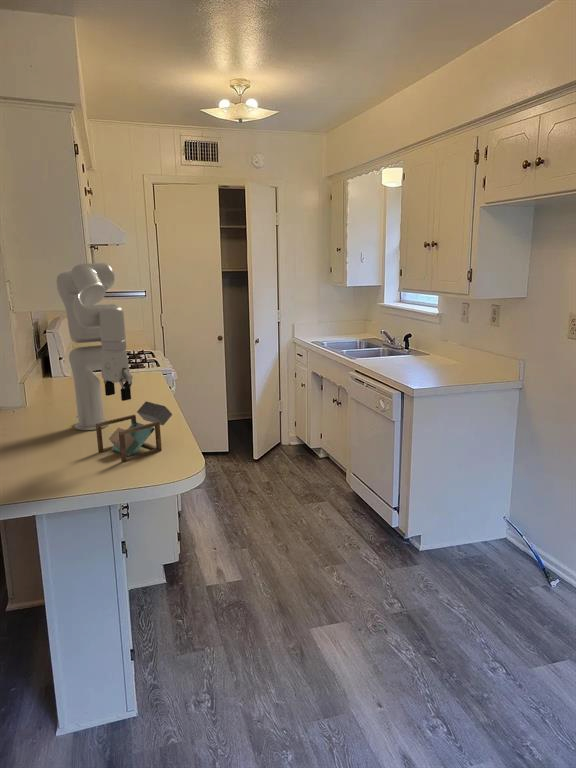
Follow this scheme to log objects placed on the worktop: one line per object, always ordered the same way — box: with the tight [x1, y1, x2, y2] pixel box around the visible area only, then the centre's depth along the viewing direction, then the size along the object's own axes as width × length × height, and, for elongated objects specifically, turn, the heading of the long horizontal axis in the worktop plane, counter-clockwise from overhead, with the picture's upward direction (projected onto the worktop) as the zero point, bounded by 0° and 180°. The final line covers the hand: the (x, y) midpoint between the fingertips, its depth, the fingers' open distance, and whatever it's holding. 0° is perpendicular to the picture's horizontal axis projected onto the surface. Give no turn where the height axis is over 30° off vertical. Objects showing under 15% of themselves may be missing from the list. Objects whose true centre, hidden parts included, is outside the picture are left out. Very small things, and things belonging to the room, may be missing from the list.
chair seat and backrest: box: [111, 400, 173, 457], centre depth 188 cm, size 12×20×4 cm
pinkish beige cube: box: [108, 427, 135, 450], centre depth 184 cm, size 5×5×5 cm
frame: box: [96, 414, 163, 463], centre depth 185 cm, size 16×14×10 cm
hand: (118, 397), depth 181 cm, fingers open, 9 cm apart
